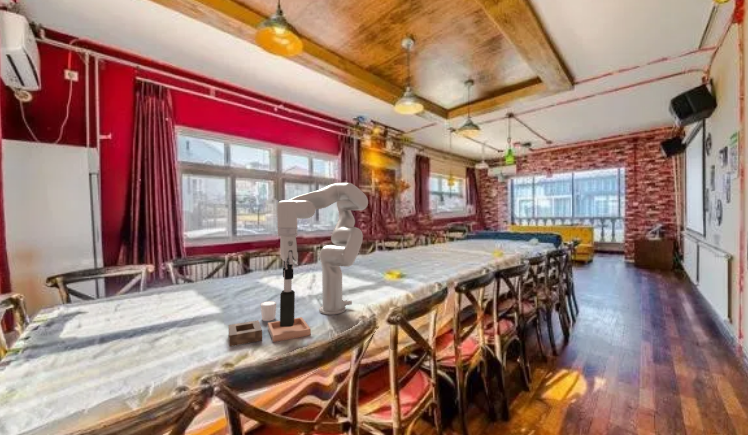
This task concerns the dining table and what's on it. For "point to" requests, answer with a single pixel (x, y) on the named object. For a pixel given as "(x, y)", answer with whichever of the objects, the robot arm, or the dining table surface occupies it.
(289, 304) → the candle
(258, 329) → the block
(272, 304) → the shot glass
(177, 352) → the dining table surface
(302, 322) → the tray
